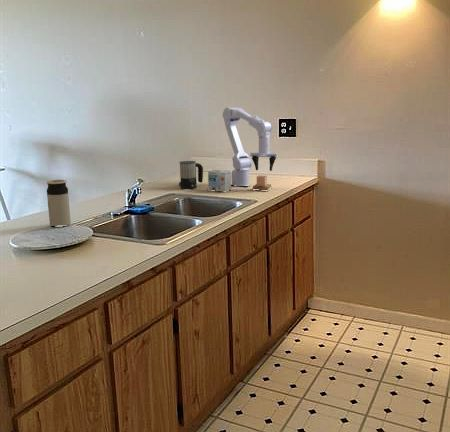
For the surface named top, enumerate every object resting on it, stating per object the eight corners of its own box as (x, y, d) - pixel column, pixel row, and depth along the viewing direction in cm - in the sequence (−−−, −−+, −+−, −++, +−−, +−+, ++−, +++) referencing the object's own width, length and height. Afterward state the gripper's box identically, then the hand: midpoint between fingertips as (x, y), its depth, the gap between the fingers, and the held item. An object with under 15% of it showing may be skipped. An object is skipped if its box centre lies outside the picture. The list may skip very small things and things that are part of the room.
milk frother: (188, 190, 279) (188, 163, 275) (167, 187, 288) (166, 161, 285) (205, 186, 290) (205, 160, 286) (184, 184, 299) (184, 158, 296)
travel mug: (72, 222, 211) (69, 179, 207) (67, 227, 203) (64, 182, 199) (53, 223, 211) (49, 179, 207) (47, 228, 203) (43, 183, 199)
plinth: (252, 190, 276) (252, 186, 275) (257, 188, 283) (257, 183, 282) (267, 191, 273) (267, 186, 272) (271, 188, 280) (271, 184, 280)
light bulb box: (207, 191, 276) (207, 171, 274) (214, 189, 282) (213, 169, 280) (225, 192, 271) (225, 172, 269) (231, 190, 277) (231, 170, 275)
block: (256, 185, 276) (256, 176, 275) (259, 184, 280) (259, 175, 279) (264, 186, 274) (264, 177, 273) (267, 184, 278) (267, 175, 277)
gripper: (248, 145, 272) (248, 170, 275) (275, 145, 267) (275, 172, 270) (252, 144, 279) (252, 169, 282) (278, 144, 274) (278, 170, 277)
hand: (263, 170), depth 276 cm, fingers open, 7 cm apart
